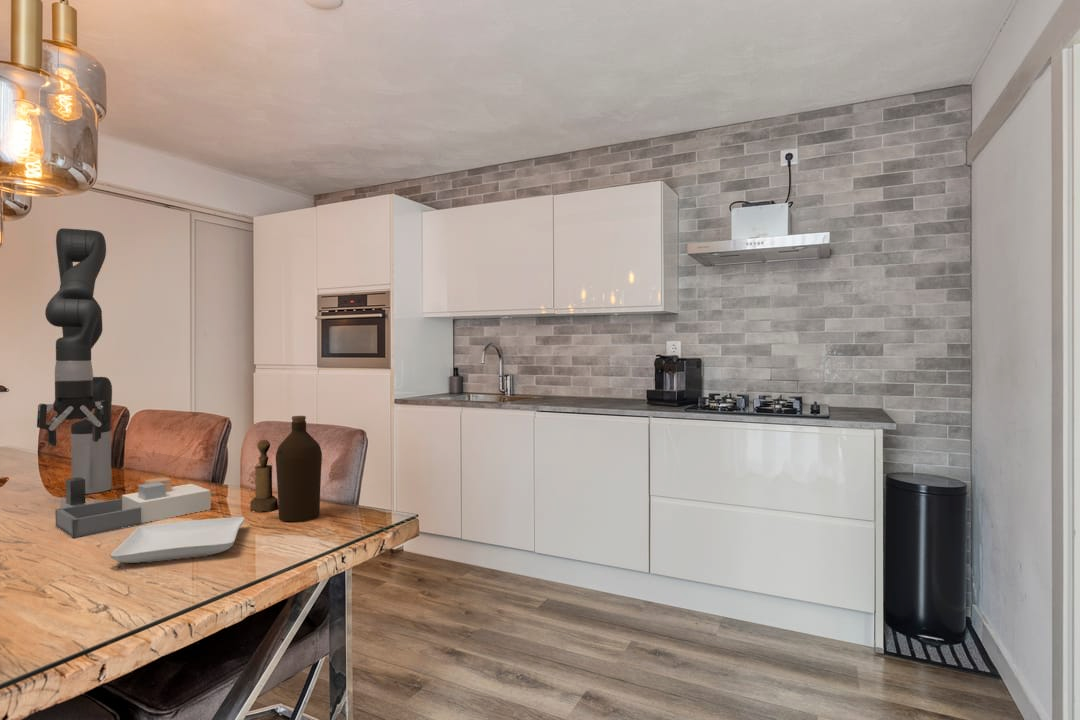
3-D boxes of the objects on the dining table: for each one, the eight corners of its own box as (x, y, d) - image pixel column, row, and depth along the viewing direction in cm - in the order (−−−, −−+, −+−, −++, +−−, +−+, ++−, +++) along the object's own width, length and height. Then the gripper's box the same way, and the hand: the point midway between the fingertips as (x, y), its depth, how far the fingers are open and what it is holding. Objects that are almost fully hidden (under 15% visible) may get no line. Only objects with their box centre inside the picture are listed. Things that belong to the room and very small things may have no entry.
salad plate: (139, 539, 131) (138, 523, 131) (245, 529, 139) (245, 514, 139) (107, 573, 111) (107, 555, 111) (234, 559, 119) (234, 542, 119)
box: (55, 526, 139) (55, 509, 139) (120, 514, 149) (120, 498, 149) (73, 538, 131) (72, 520, 130) (141, 524, 141) (140, 507, 141)
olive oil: (309, 524, 142) (309, 419, 141) (267, 522, 143) (266, 418, 142) (329, 511, 152) (329, 414, 152) (290, 510, 153) (289, 413, 153)
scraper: (59, 510, 153) (59, 475, 153) (74, 508, 156) (73, 474, 156) (78, 522, 143) (77, 484, 143) (93, 519, 146) (92, 482, 146)
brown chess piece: (244, 510, 153) (243, 441, 153) (264, 504, 159) (264, 437, 159) (263, 513, 150) (263, 442, 150) (283, 507, 156) (283, 439, 156)
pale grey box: (138, 497, 147) (138, 485, 146) (158, 493, 150) (158, 482, 150) (145, 500, 144) (144, 487, 144) (165, 496, 147) (165, 484, 147)
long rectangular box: (122, 514, 149) (122, 495, 149) (191, 502, 161) (191, 483, 161) (139, 523, 141) (139, 502, 141) (210, 509, 154) (210, 490, 154)
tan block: (144, 491, 152) (144, 480, 152) (164, 488, 156) (164, 477, 155) (151, 494, 149) (151, 482, 149) (171, 491, 153) (171, 479, 153)
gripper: (103, 377, 157) (103, 438, 157) (33, 379, 146) (34, 445, 146) (112, 378, 152) (113, 441, 152) (41, 380, 141) (42, 448, 141)
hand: (74, 443), depth 149 cm, fingers open, 8 cm apart
